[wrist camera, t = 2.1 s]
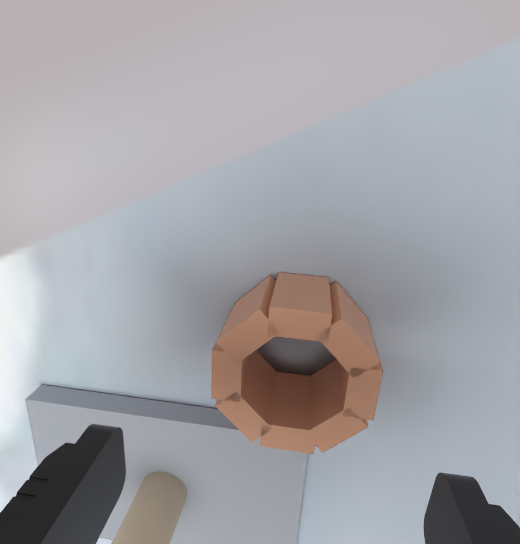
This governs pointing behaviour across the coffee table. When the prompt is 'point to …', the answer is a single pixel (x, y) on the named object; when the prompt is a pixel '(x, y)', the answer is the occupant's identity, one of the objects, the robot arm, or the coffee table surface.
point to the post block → (180, 470)
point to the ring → (294, 387)
